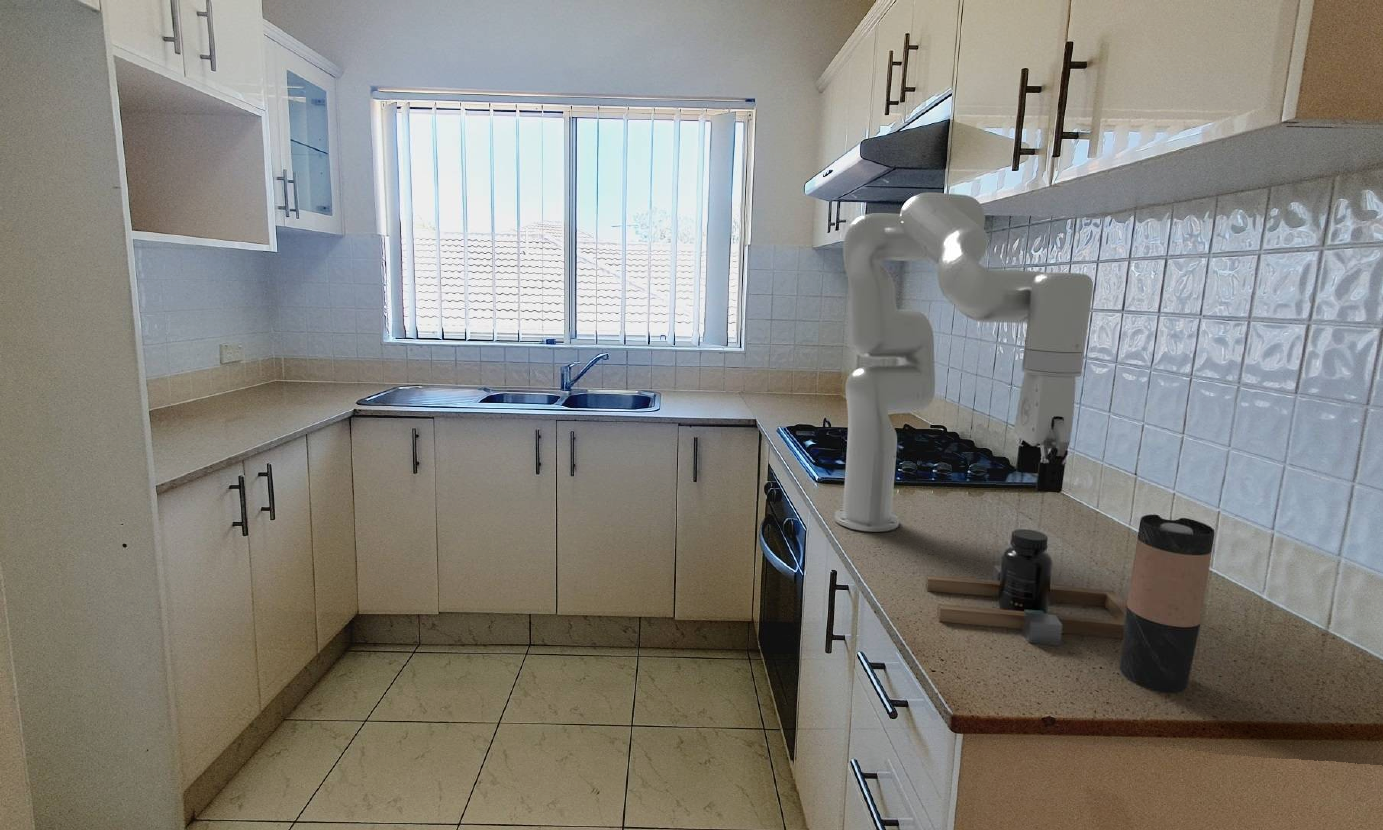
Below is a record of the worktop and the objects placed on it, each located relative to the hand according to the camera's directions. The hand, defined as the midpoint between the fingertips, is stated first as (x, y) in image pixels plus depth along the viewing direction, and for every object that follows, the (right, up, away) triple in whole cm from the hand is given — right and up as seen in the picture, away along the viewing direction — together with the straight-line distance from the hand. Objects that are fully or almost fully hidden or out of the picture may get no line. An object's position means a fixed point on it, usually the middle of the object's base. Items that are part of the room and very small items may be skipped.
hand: (1037, 481), depth 103 cm
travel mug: (+8, -23, -14) cm, 28 cm away
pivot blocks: (0, -20, +4) cm, 20 cm away
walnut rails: (0, -20, +4) cm, 20 cm away
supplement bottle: (-1, -20, +4) cm, 20 cm away
